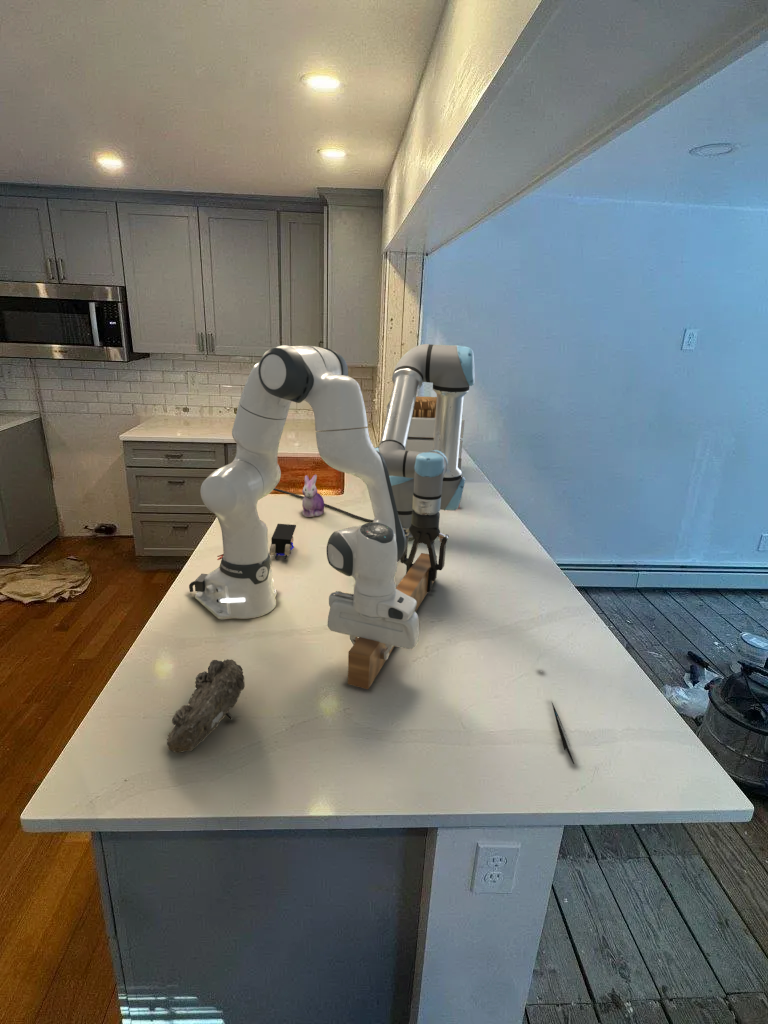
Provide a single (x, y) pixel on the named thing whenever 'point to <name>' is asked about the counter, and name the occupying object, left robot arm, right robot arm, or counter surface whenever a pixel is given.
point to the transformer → (425, 427)
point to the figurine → (312, 498)
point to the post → (367, 652)
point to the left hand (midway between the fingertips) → (371, 654)
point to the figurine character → (282, 540)
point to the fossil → (206, 705)
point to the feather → (562, 734)
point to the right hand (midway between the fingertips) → (420, 588)
